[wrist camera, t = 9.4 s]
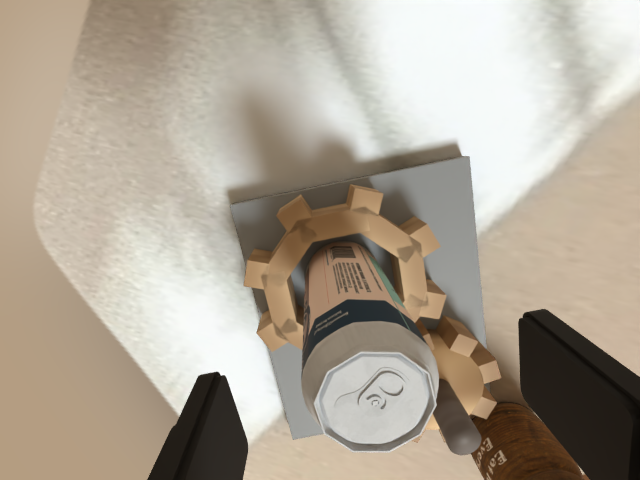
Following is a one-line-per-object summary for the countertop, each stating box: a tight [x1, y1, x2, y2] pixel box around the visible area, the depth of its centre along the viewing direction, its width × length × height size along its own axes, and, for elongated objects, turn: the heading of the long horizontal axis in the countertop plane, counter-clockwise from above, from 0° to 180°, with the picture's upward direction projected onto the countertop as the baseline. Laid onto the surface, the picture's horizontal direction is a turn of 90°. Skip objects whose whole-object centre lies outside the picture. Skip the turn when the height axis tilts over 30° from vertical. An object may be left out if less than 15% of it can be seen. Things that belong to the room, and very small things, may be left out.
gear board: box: [230, 156, 491, 440], centre depth 24 cm, size 18×15×1 cm
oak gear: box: [244, 184, 447, 352], centre depth 21 cm, size 12×12×2 cm
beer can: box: [301, 241, 439, 452], centre depth 17 cm, size 5×5×12 cm
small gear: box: [411, 315, 501, 455], centre depth 21 cm, size 8×8×6 cm
